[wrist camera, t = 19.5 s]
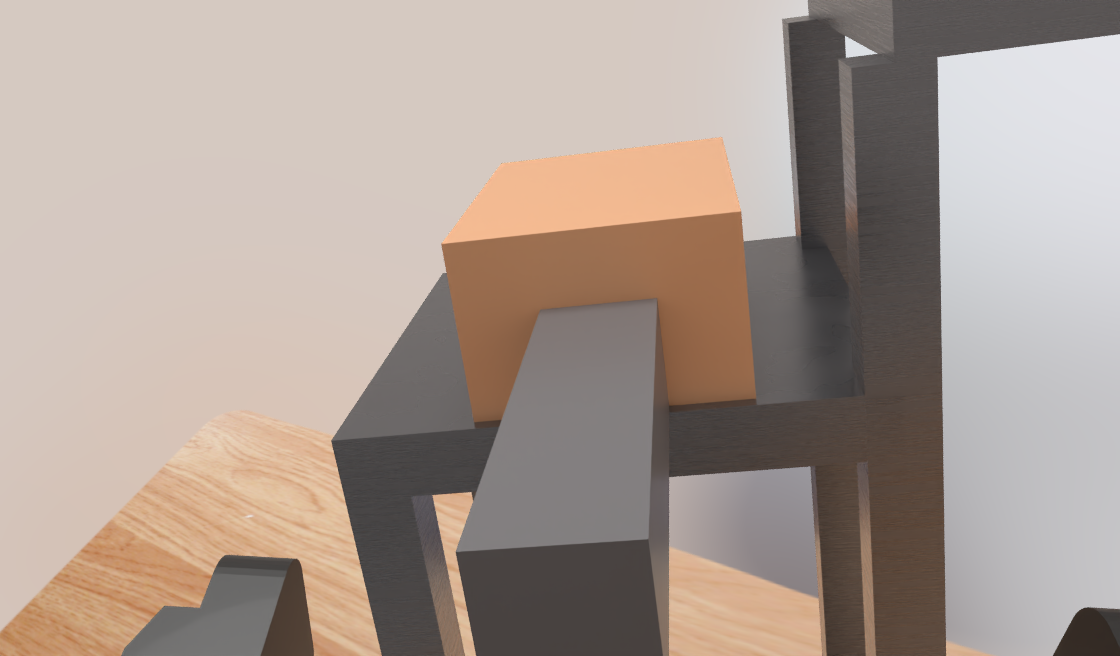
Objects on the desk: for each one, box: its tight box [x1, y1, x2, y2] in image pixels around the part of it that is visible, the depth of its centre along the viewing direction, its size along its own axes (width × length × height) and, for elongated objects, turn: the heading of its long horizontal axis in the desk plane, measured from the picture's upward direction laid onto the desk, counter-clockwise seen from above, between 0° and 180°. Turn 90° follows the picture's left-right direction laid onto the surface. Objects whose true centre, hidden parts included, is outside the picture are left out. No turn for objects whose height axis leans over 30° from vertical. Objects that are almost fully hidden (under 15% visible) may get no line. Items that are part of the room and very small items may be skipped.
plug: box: [442, 137, 756, 656], centre depth 21 cm, size 17×6×4 cm, turn 174°
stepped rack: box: [331, 0, 1120, 656], centre depth 29 cm, size 12×24×32 cm, turn 85°
